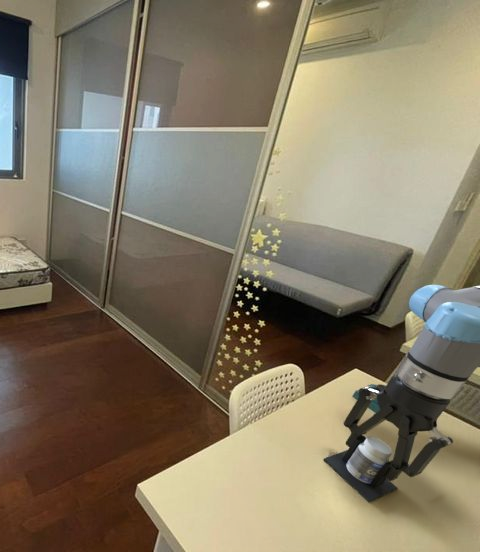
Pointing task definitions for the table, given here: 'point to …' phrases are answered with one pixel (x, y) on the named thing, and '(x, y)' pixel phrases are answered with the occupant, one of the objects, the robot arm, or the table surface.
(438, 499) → the table surface
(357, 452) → the pill bottle
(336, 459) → the mat
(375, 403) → the button box
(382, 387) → the button
